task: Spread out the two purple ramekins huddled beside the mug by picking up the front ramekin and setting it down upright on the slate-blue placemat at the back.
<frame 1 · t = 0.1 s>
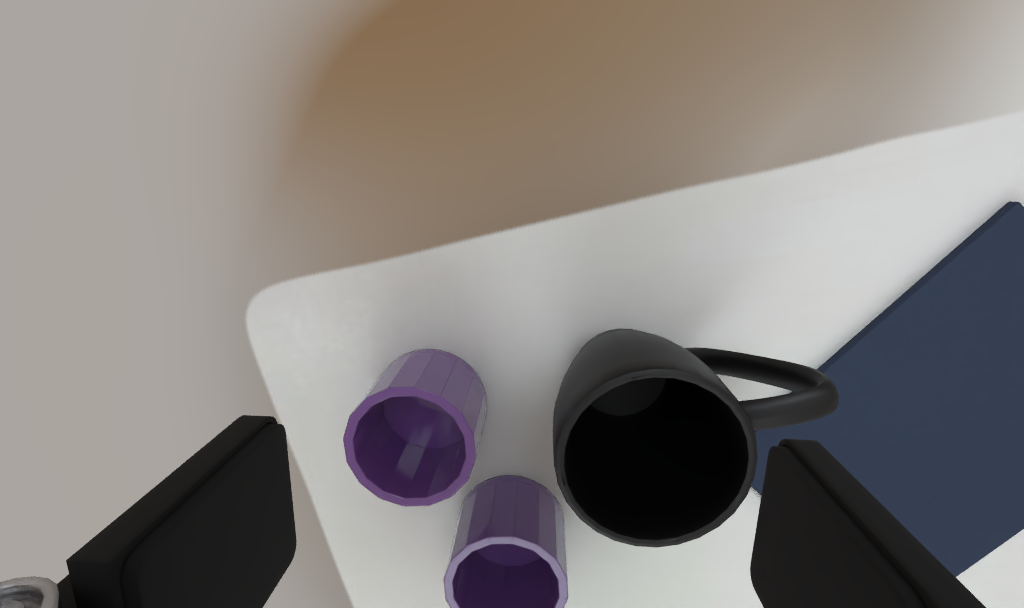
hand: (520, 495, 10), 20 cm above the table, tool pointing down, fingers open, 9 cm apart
placemat: (945, 427, 30), on the table
mug: (652, 363, 30), on the table
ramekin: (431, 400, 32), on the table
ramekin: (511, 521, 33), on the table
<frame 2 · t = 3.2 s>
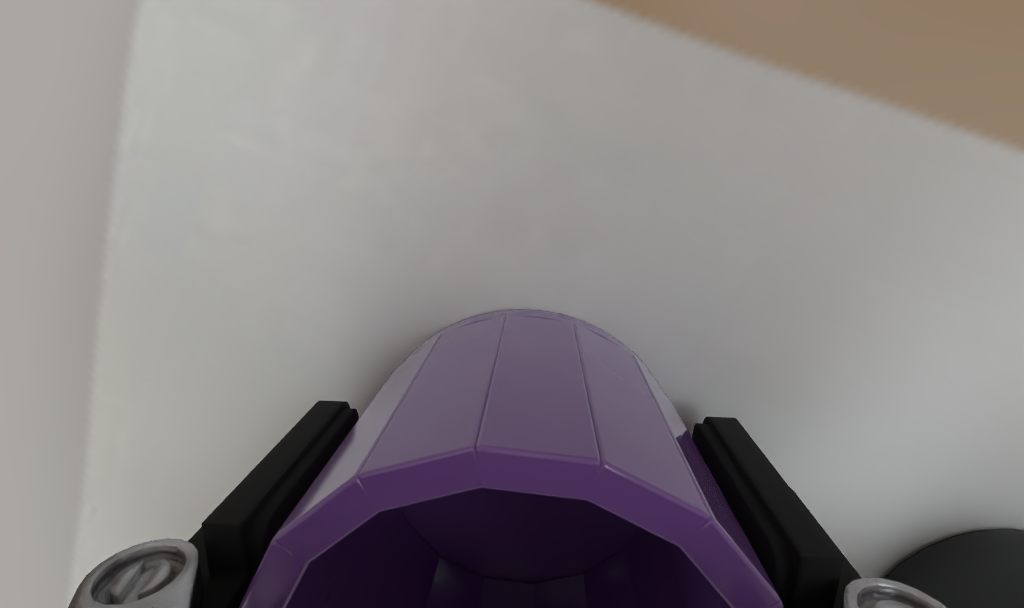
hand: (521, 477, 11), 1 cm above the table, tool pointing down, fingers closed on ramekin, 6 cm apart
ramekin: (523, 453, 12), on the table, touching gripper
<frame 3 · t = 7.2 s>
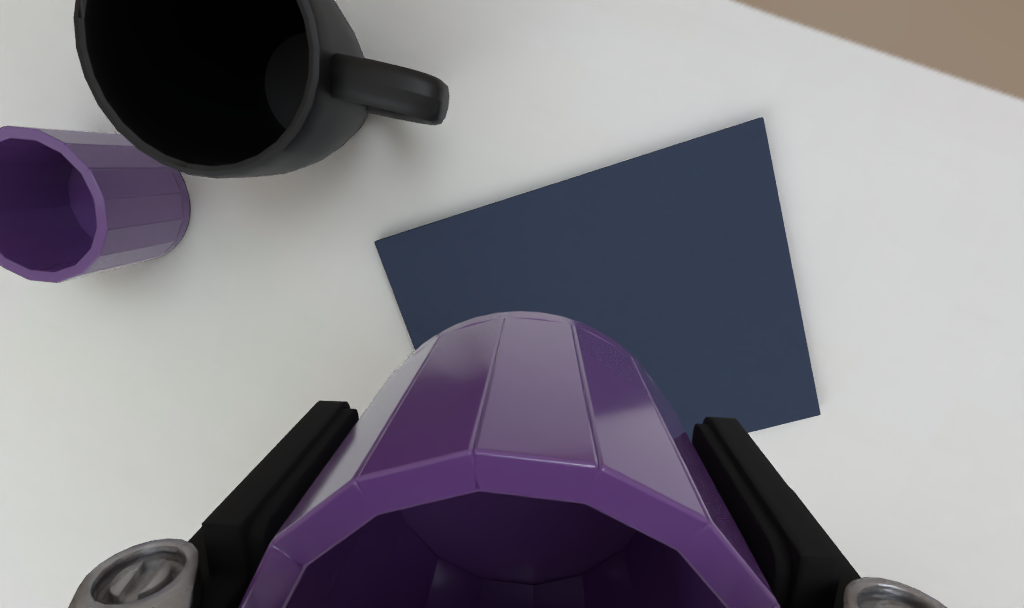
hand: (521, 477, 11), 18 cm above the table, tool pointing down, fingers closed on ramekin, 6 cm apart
placemat: (600, 326, 28), on the table
mug: (355, 98, 26), on the table
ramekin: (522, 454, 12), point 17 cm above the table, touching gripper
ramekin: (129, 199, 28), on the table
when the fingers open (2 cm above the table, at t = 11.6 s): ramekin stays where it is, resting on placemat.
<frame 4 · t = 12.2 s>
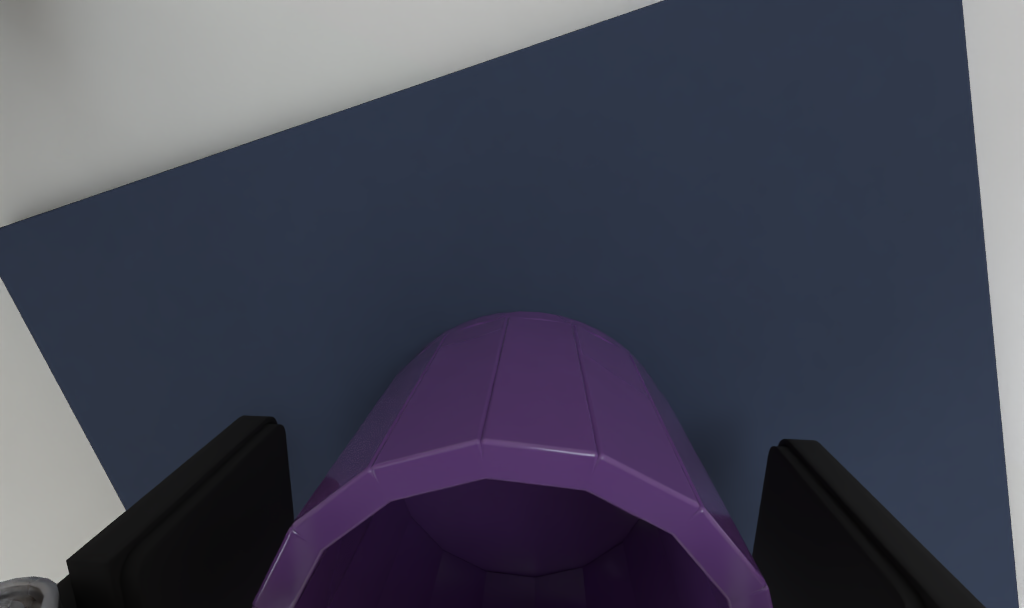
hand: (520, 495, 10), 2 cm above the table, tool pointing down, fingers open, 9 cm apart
placemat: (525, 435, 13), on the table
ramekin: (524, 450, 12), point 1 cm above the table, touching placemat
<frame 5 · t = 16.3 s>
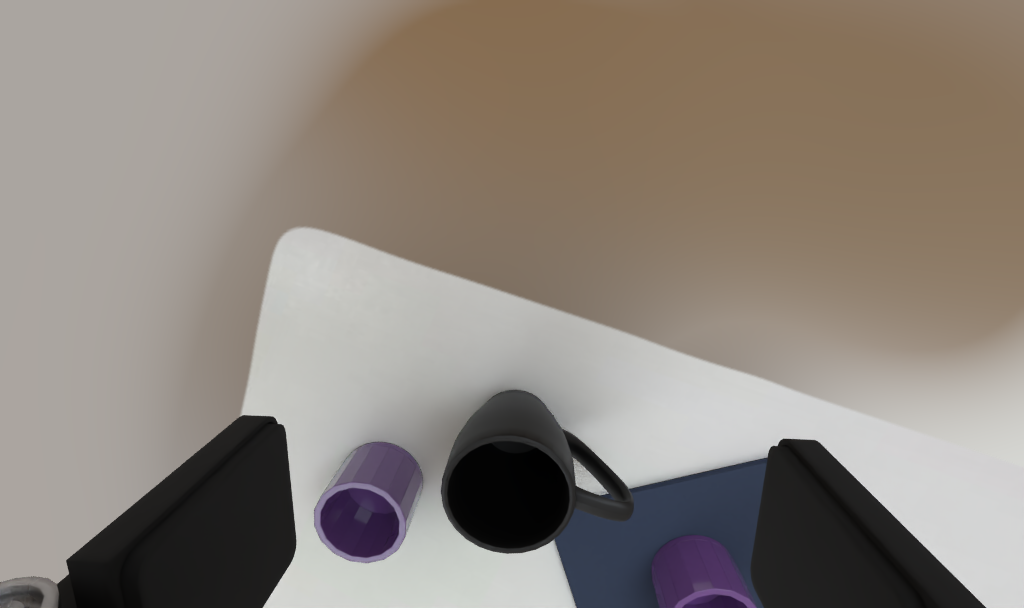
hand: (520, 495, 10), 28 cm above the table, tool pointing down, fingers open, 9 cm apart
placemat: (690, 563, 43), on the table
mug: (539, 427, 41), on the table
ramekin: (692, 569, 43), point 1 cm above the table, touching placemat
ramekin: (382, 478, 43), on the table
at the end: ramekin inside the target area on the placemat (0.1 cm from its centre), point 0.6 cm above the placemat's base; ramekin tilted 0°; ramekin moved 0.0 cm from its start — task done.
